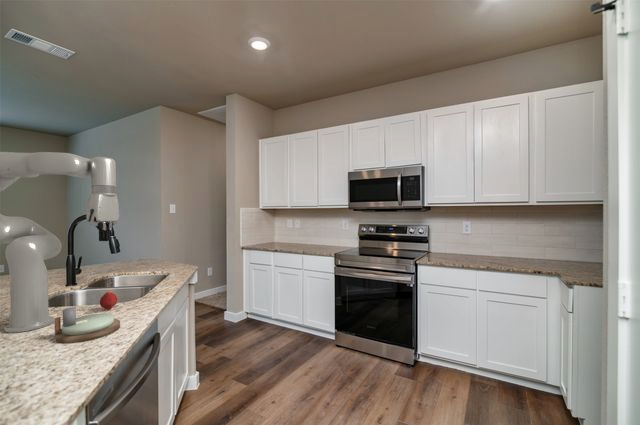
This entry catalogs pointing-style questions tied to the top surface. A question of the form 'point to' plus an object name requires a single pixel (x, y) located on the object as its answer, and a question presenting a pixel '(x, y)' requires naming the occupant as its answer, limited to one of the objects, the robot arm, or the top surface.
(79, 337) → the base plate
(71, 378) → the top surface
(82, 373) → the top surface
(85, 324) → the turntable
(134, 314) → the top surface
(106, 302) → the onion
